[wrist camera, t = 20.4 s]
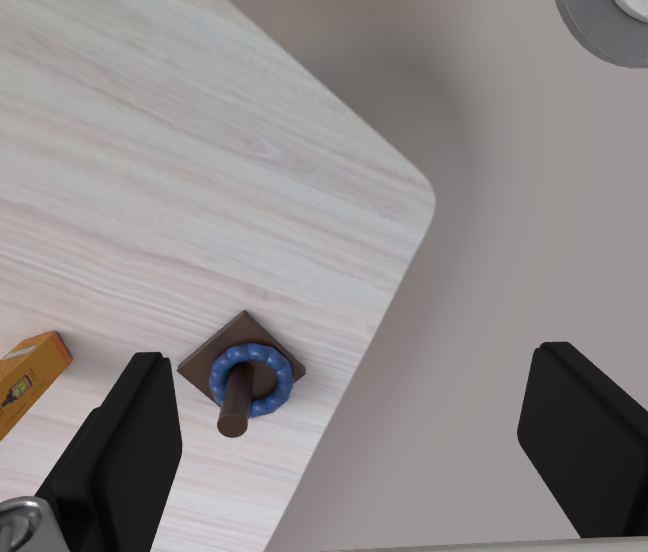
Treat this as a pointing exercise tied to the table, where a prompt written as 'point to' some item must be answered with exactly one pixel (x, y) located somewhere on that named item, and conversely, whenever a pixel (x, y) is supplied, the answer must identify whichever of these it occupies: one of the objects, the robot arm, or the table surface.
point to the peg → (237, 372)
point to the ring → (258, 354)
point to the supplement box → (29, 376)
